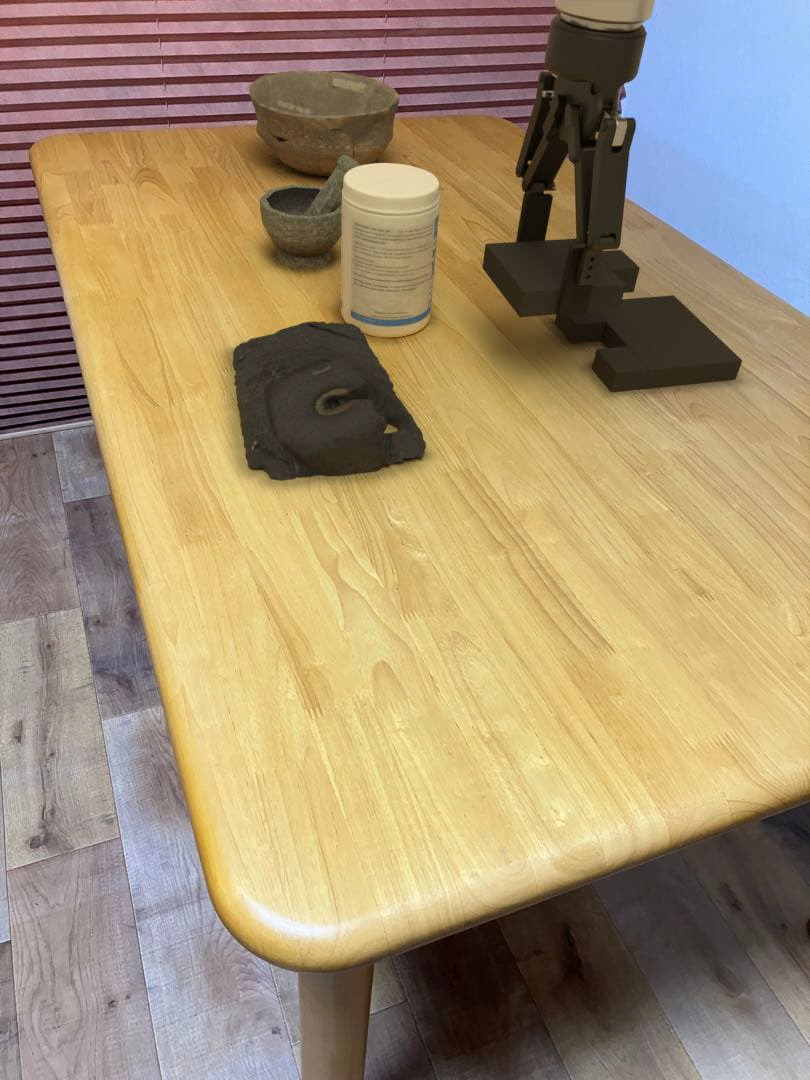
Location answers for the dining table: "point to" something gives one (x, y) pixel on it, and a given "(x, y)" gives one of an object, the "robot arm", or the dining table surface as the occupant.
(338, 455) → the dark slate chunk
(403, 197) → the supplement tub
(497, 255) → the small pad
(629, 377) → the base pad
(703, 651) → the dining table surface
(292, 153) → the bowl
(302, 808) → the dining table surface
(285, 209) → the mortar and pestle
